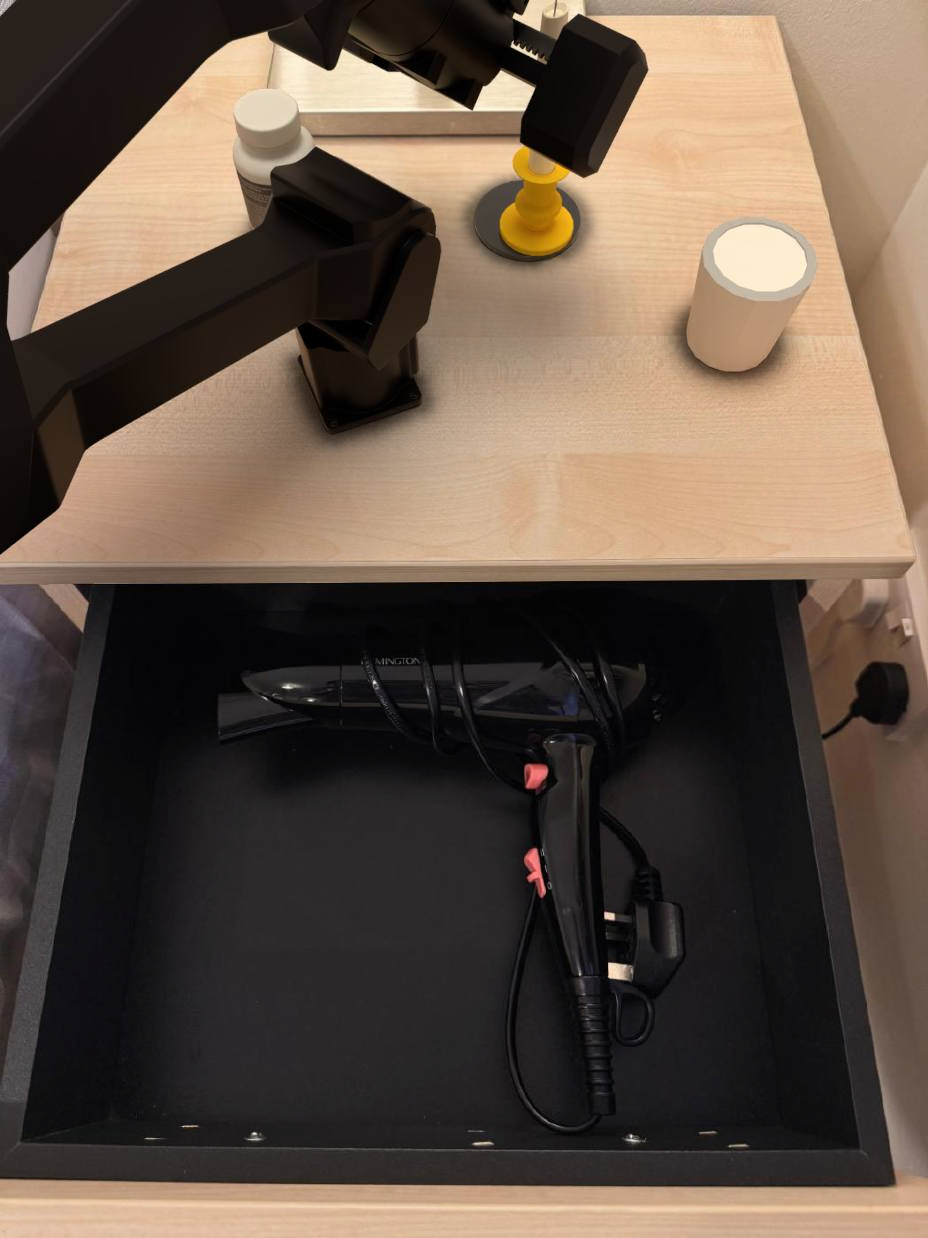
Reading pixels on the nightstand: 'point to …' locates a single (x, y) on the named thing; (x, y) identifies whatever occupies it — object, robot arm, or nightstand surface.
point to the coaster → (492, 211)
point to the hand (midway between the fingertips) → (529, 91)
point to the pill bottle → (266, 144)
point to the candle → (539, 183)
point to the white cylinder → (747, 291)
